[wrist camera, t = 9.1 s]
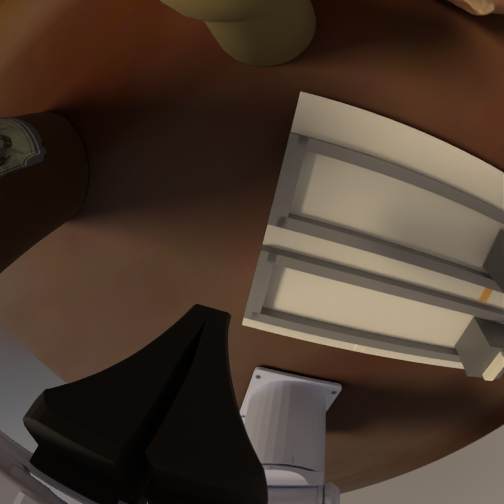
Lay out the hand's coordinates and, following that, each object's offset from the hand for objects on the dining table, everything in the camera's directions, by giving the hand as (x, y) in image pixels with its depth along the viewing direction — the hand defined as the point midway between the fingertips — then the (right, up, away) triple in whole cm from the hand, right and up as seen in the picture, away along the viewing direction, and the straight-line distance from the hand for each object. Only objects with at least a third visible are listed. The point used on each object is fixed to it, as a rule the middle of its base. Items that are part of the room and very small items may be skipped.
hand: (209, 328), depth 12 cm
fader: (+20, -4, +8) cm, 22 cm away
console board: (+15, +2, +8) cm, 17 cm away
